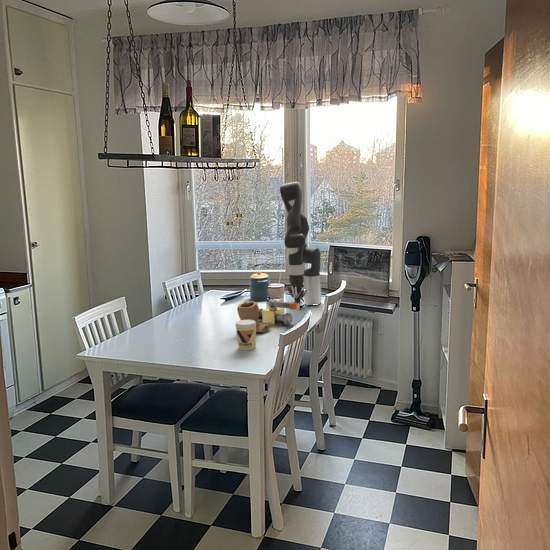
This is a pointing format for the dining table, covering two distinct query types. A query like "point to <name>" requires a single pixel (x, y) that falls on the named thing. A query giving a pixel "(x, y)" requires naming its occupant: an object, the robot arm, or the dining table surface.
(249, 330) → the coffee cup
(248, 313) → the stone cup
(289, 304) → the lever
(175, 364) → the dining table surface
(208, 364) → the dining table surface
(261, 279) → the canister
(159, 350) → the dining table surface
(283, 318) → the valve pipe
